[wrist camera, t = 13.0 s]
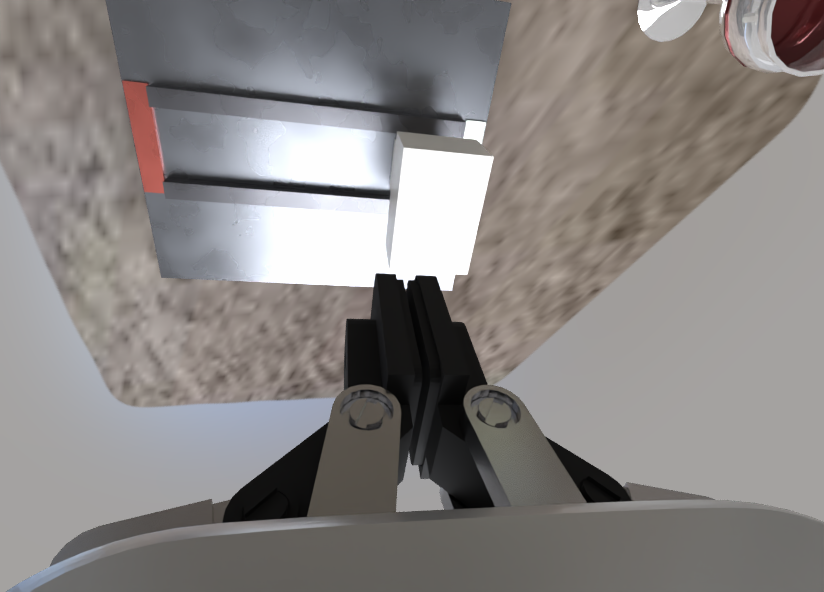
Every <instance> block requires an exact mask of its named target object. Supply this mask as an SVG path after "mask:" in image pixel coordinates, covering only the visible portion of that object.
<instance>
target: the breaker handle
mask: <svg viewBox="0 0 824 592" xmlns="http://www.w3.org/2000/svg"><path fill="white" fill-rule="evenodd" d="M493 158H494V156H493V155H492V154H491V153H490V152H489V151H488V150H487V149H486V148H485V147H484V146H483V145H482V144H481V143H480V142H479V141H478V140H474V139H465V138H455V137H446V136H437V135H427V134H418V133H409V132H399V131H397V136H396V139H395V140H394V149H393V159H392V169H391V178H390V192H391V193H390V202H389V212H388V221H387V231H386V240H385V247H386V253H387V259H388V265H389V271H402V272H421V273H441V274H460V275H467V273H468V269H469V265H470V260H471V256H472V251H473V247H474V242H475V238H476V233H477V229H478V224H479V220H480V216H481V211H482V207H483V202H484V198H485V193H486V189H487V184H488V180H489V176H490V171H491V167H492V162H493Z"/></svg>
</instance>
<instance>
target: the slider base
mask: <svg viewBox="0 0 824 592" xmlns="http://www.w3.org/2000/svg"><path fill="white" fill-rule="evenodd" d="M106 5H107V10H108V15H109V20H110V25H111V30H112V34H113V39H114V44H115V49H116V54H117V59H118V64H119V69H120V74H121V79H122V84H123V89H124V94H125V99H126V104H127V109H128V114H129V119H130V124H131V129H132V134H133V139H134V144H135V149H136V154H137V159H138V164H139V169H140V174H141V179H142V184H143V189H144V193H145V198H146V203H147V208H148V213H149V218H150V223H151V228H152V233H153V238H154V243H155V248H156V253H157V258H158V263H159V268H160V273H161V278H184V279H206V280H228V281H250V282H273V283H295V284H317V285H340V286H362V287H374V279H375V274H376V273H385V274H396V277H397V279H403V281H404V286H405V288H407V282H408V280H414V279H415V276H416V275H426V276H436V277H437V280H438V283H439V286H440V288H441V290H451V291H452V286H453V282H454V277H455V274H441V273H421V272H402V271H389V265H388V259H387V253H386V247H385V240H386V231H387V221H388V212H389V202H390V193H391V192H390V178H391V169H392V159H393V149H394V140H395V139H396V136H397V131H399V132H409V133H418V134H427V135H437V136H446V137H455V138H465V139H474V140H478V141H479V142H480V143H481V144H482V142H483V137H484V132H485V128H486V123H487V118H488V113H489V108H490V104H491V99H492V94H493V89H494V84H495V79H496V75H497V70H498V65H499V60H500V55H501V51H502V46H503V41H504V36H505V31H506V26H507V22H508V17H509V12H510V7H511V3H508V2H502V1H496V0H106Z"/></svg>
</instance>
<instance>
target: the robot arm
mask: <svg viewBox="0 0 824 592" xmlns="http://www.w3.org/2000/svg"><path fill="white" fill-rule="evenodd" d="M408 453H410V460H411V464H412V465H418V466H419V471H420V478H421V479H428V478H430V479H431V480H432V481H434V482H435V483H436V484H437V485H439V486H440V497H441V501H442V504H443V507H444V510H432V511H412V512H396V499H397V486H398V485H399V483H400V482H401V481H402V480H403V477H404V472H405V467H406V463H407V457H408ZM6 592H824V522H823V521H820V520H818V519H815V518H813V517H810V516H807V515H803V514H800V513H797V512H794V511H790V510H787V509H782V508H777V507H773V506H767V505H763V504H757V503H750V502H739V501H729V500H715V499H712V498H709V497H706V496H700V495H695V494H689V493H684V492H678V491H673V490H667V489H662V488H655V487H650V486H644V485H640V484H634V483H629V482H627V483H626V484H625V486H624V487H622V486H621V485H620V484H619V483H618V482H617V481H616V480H614V479H613V478H612V477H610V476H609V475H608V474H606V473H604V472H603V471H601V470H599V469H598V468H596V467H594V466H593V465H591V464H589V463H588V462H586V461H585V460H583V459H581V458H579V457H578V456H576V455H574V454H573V453H572V452H570V451H568V450H567V449H565V448H563V447H562V446H560V445H558V444H557V443H555V442H553V441H552V440H550V439H548V438H547V437H545V436H544V434H543V433H542V431H541V430H540V428H539V427H538V425H537V423H536V422H535V420H534V419H533V417H532V416H531V414H530V413H529V411H528V409H527V408H526V406H525V405H524V403H523V402H522V401H521V400H520V399H519V398H518V397H517V396H516V395H515V394H513V393H512V392H510V391H508V390H506V389H504V388H502V387H498V386H494V385H487V382H486V379H485V377H484V374H483V371H482V369H481V366H480V363H479V361H478V358H477V355H476V353H475V350H474V347H473V345H472V342H471V339H470V337H469V334H468V331H467V329H466V326H465V324H464V323H462V322H452V321H451V318H450V315H449V312H448V309H447V306H446V303H445V300H444V297H443V294H442V291H441V288H440V286H439V283H438V280H437V277H436V276H426V275H416V276H415V279H414V280H408V282H407V289H406V290H405V286H404V281H403V279H397V277H396V274H385V273H376V274H375V279H374V289H373V300H372V310H371V319H347V321H346V335H345V354H344V391H342V392H341V393H340V394H339V395H338V396H337V397H336V399H335V401H334V404H333V406H332V410H331V415H330V419H329V422H328V423H327V424H325V425H324V426H323V427H321V428H320V429H319V430H317V431H316V432H315V433H313V434H312V435H311V436H309V437H308V438H307V439H306V440H304V441H303V442H302V443H300V444H299V445H298V446H296V447H295V448H294V449H292V450H291V451H290V452H288V453H287V454H286V455H285V456H283V457H282V458H281V459H279V460H278V461H277V462H275V463H274V464H273V465H271V466H270V467H269V468H268V469H266V470H265V471H264V472H262V473H261V474H260V475H258V476H257V477H256V478H254V479H253V480H252V481H250V482H249V483H248V484H246V485H245V486H244V487H243V488H241V489H240V490H239V491H238V492H237V493H236V494H235V495H234V496H233V497H232V499H231V500H228V501H223V502H219V503H216V504H213V502H212V499H209V500H205V501H201V502H197V503H193V504H188V505H184V506H180V507H176V508H172V509H168V510H164V511H160V512H155V513H151V514H147V515H143V516H139V517H135V518H131V519H127V520H123V521H118V522H114V523H110V524H106V525H102V526H98V527H96V528H93V529H91V530H88V531H86V532H83V533H81V534H80V535H78V536H77V537H76V538H74V539H73V540H71V541H70V542H68V543H67V544H66V545H65V546H64V547H63V548H62V549H61V551H60V552H59V553H58V554H57V555H56V556H55V557H54V559H53V561H52V563H51V565H50V567H49V568H47V569H45V570H43V571H40V572H39V573H37V574H35V575H33V576H31V577H29V578H27V579H25V580H24V581H22V582H20V583H18V584H17V585H15V586H14V587H12V588H11V589H9V590H7V591H6Z"/></svg>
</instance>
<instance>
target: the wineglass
mask: <svg viewBox="0 0 824 592" xmlns="http://www.w3.org/2000/svg"><path fill="white" fill-rule="evenodd" d="M707 3H709V4H722V5H721V9H720V35H721V37H722V40H723V43H724V46H725V48H726V49H727V50H728V51H729V53H730V54H731V55H732V56H733V57H734V58H735V59H736V60H737V61H738V62H739V63H740V64H742V65H743V66H745V67H749V68H752V69H755V70H758V71H761V72H765V73H774V72H782V71H784V72H787V73H790V74H793V75H796V76H799V77H803V76H812V75H821V74H823V73H824V0H639V5H638V18H639V23H640V26H641V28H642V30H643V32H644V33H645V34H646V35H647V36H648V37H649V38H650V39H653V40H656V41H659V42H662V41H671V40H673V39H675V38H677V37H680V36H682V35H683V34H684V33H685V32H687V31H688V30H689V29H690V28H691V27H692V26H693V25H694V24H695V22H696V21H697V20H698V19H699V17H700V16H701V14H702V12H703V10H704V8H705V6H706V4H707Z"/></svg>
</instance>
